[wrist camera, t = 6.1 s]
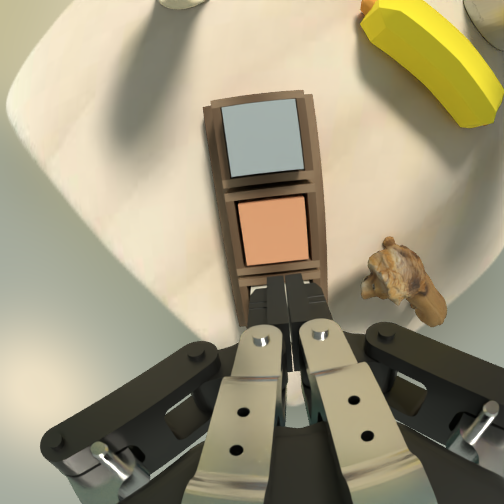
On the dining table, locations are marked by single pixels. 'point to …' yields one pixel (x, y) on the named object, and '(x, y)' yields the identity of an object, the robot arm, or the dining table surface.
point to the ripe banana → (435, 57)
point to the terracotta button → (274, 229)
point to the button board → (266, 186)
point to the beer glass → (180, 3)
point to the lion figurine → (404, 282)
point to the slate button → (263, 137)
